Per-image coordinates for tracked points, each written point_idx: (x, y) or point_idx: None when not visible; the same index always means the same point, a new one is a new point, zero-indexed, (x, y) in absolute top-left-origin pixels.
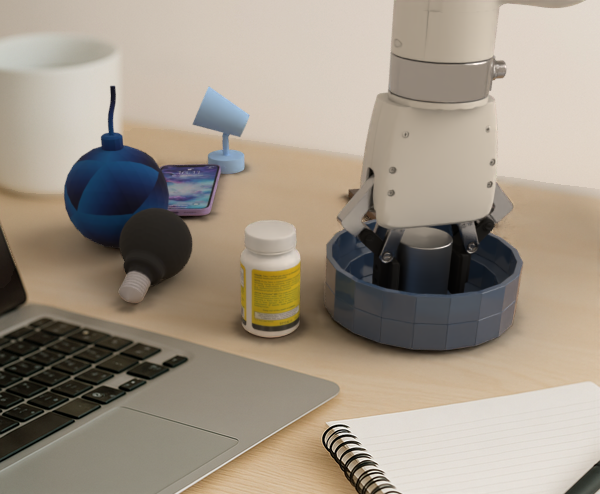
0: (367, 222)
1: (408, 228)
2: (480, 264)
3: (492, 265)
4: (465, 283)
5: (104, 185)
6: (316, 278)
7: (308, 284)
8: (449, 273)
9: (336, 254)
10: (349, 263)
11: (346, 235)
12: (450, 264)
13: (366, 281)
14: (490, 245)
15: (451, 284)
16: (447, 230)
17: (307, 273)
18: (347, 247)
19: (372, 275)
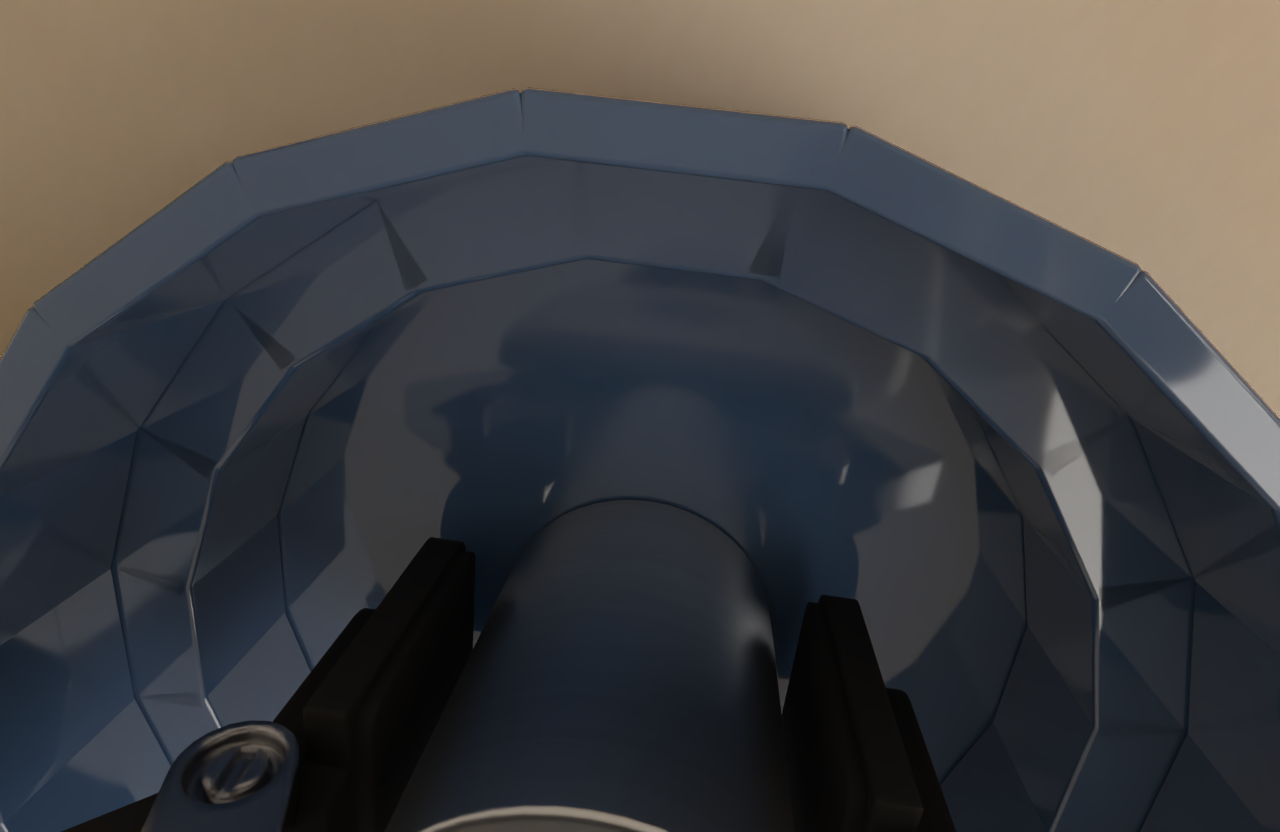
0: (405, 158)
1: (524, 829)
2: (1089, 701)
3: (1138, 754)
4: (994, 550)
5: None
6: (238, 116)
7: (178, 178)
8: (800, 749)
9: (140, 377)
10: (275, 392)
11: (169, 292)
12: (811, 793)
13: (480, 321)
14: (1262, 775)
15: (789, 737)
16: (1179, 437)
17: (197, 21)
18: (262, 264)
19: (335, 641)
